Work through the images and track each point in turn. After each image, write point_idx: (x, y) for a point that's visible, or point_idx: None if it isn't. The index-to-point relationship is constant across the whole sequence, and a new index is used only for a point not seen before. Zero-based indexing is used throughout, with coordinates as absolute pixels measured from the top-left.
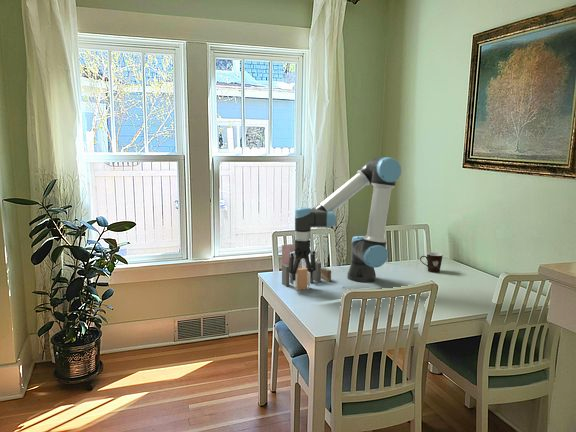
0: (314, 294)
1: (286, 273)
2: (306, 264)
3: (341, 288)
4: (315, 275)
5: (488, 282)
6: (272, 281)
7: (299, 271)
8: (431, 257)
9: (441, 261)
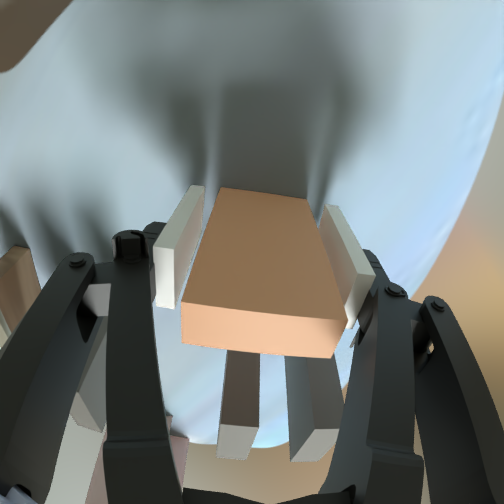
0: (262, 27)
1: (336, 377)
2: (160, 381)
3: (10, 88)
4: None
5: None
6: None
7: (324, 300)
8: None
9: None
